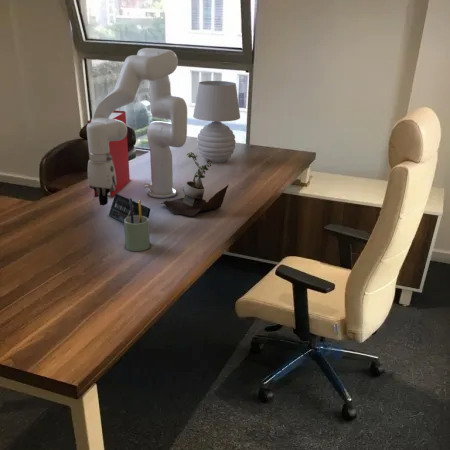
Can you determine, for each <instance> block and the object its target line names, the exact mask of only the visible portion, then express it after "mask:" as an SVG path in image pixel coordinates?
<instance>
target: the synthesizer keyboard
mask: <svg viewBox="0 0 450 450" xmlns="http://www.w3.org/2000/svg"><path fill="white" fill-rule="evenodd" d="M129 199H130V198H128V197H125V196H123V195H121V194H119V193H115V195H114V196H113V200H112V204H111V207H110V210H109V213H108V216H109V217H111V218H113V219H114V220H117V221H119V222H121V223H122V224H124V219H125V218H127V217H130V216H131V215H130V200H129ZM132 204H133V216H139V204H138V201H137V202H136V201H134V200H132ZM150 213H151V208H150V207H148V206H145V205H143V204H141V215H142V216H144V217H147V218H148V219H149V217H150Z"/></svg>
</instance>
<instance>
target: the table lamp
mask: <svg viewBox="0 0 450 450" xmlns="http://www.w3.org/2000/svg"><path fill="white" fill-rule="evenodd" d="M192 117H193V118H194V119H196V120H200V121H205V122H210V123H208V124H206V125H204V126H203V127H202V128H201V129H200V131H199V133H198V134H197V139H196V143H197V144H196V148H197V150H198V154H200V155H201V157H202V158H203V159H204V160H205V161H206V162H207V161H208V160H210V161H212V163H224V162H226V161H227V160H229V159H230V158H231V157H232V155H233V154H234V152H235V149H236V143H237V141H236V135H235V134H234V132H233V130H232V129H231V128H230V126H228V125H227V124H225V123H223V122H235V121H238V120H240V119H241V112H240V104H239V98H238V90H237V83H236V82H234V81H233V82H232V81H227V80H226V81H225V80H203V81H199V82H198V86H197V92H196V97H195V104H194V108H193V115H192Z"/></svg>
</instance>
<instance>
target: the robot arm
mask: <svg viewBox="0 0 450 450" xmlns="http://www.w3.org/2000/svg"><path fill="white" fill-rule="evenodd" d="M178 63H179V59H178V56H177V54H176V53H175V51H173V50H171V49H163V48H155V47H154V48H153V47H143V48H141V49H139V50H138V51H137V53H136V54H132V55H128V56H127V57H125V59H124V61H123V64H122V67H121V70H120V72H119V75H118V77H117V80H116V83H115V85H114V88H113V90H111V92H109V93H108V94H107V95H106V96H105V97H104V98H103V99H101V101H99V102H98V104H97V105H96V107H95V109H94V112H93V114H92V117H91V119H92V120H91V119H90V120H91V123H88V122H87V125H86V137H87V145H88V146H87V147H88V158H89V159H88V162H87V183H88V185H89V186H88V187H89V188H90V189H92V190H93V191H94V190H95V191H96V192H97V194H98V195H97V196H98V201H99V202H98V203H99V205H100V206H106V205H108V202H109V196H108V195H107V194H108V193H109V192H112V191H115V190H116V189H115V185H116V174H115V169H114V165H113V162H112V160H110V159H113V156H112V155H110V151H109V142H110V141H120V140H122V139H124V138H125V137H126V135H127V136H128V126H127V124H126V125H125V124H124V123H123V122H122V121H119V120H114V119H109V116H110V115H111V113H112V112H113V111H117V110H118V109H120V108H122V107H125V106H127V105H130V104H132V103H133V102H135V101H136V99H137V95H138V93H139V91H140V87H141V85H142V82H143V81H146V82H147V81H148V83H149V108H150V109H149V110H150V113H151V115H152V116H153V117H154V118H157V119H162V120H170V122H168V121H161V120H155V121H152V122H150V123H149V124H148V125H147V128H146V137H147V141H148V145H149V154H150V158H149V159H150V179H151V182H147V181H146V182H144V183H143V187H144V189H148V196H150V197H152V198H156V199H157V198H158V199H167V198H172V197H174V196H176V195H177V190H176V189H174V178H173V176H174V175H173V173H174V172H173V153H172V150H171V147H172V148H182V147H183V146H184V145H185V144H186V142H187V136H188V105H187V102H186V101H185V99H184V98H183V97H181V96H179V95H172V87H171V80H170V75H172V74H173V73H175V71H176V69H177V68H178V65H179V64H178Z"/></svg>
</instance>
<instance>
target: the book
mask: <svg viewBox="0 0 450 450" xmlns="http://www.w3.org/2000/svg"><path fill="white" fill-rule="evenodd" d="M109 119H114V120H119V121H122V122H123V123H124V124H125V125H126V126H127V113H126V111H125V110H115V111H113V112H112V113H111V115H110V116H109ZM91 120H92V118H91V119H89V120H87V124H88V123H91ZM128 144H129V143H128V134H127V135H126V137H125V138H124V139H122V140H120V141H110V142H109V151H110V155H112V156H113V159H110V160H112V162H113V165H114V169H115V174H116V185H115V189H116V190H115V191H112V192H109V193H108V194H107V195H108V197H111V198H114V196H115V193H116V194H118V193H119V192H120V191H121V190H122V189H123V188H124V187H126V186H127V184H128V183H130V181H131V178H130V177H131V176H130V162H129V145H128ZM93 193H94V197H96V196H99V195H98V194H97V192H96V191H95V190H94V189H93Z"/></svg>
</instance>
